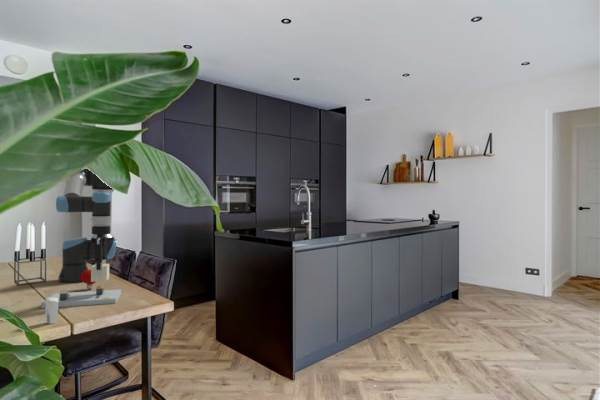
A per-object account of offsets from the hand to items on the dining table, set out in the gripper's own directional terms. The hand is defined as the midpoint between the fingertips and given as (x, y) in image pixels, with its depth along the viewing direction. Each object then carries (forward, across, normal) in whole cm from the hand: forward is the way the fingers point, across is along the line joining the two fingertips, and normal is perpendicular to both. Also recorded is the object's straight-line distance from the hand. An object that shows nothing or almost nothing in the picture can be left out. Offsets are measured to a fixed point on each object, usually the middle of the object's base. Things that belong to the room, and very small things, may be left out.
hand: (100, 275), depth 166 cm
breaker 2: (+8, 0, 0) cm, 8 cm away
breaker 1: (+8, +6, -13) cm, 16 cm away
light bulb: (+11, -19, -8) cm, 24 cm away
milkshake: (+11, +32, -10) cm, 35 cm away
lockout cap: (+2, 0, 0) cm, 2 cm away
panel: (+11, +2, -6) cm, 12 cm away
